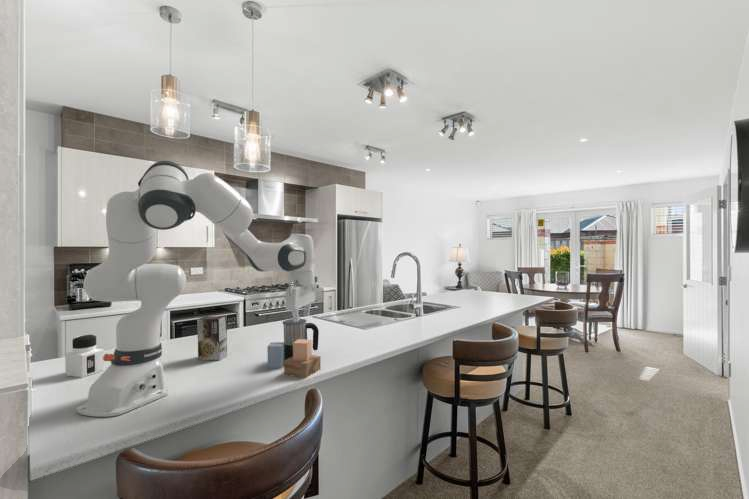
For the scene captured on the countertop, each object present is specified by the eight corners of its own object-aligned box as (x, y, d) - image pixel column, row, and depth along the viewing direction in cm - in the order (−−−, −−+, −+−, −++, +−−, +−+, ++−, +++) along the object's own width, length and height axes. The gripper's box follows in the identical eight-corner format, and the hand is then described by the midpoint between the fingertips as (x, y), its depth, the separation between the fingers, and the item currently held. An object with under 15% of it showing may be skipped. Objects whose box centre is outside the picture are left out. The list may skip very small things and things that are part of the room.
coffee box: (227, 355, 148) (227, 315, 148) (219, 360, 142) (219, 318, 141) (206, 354, 149) (205, 315, 149) (197, 360, 143) (196, 318, 142)
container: (104, 370, 131) (103, 334, 131) (81, 378, 124) (81, 339, 123) (88, 368, 133) (87, 332, 133) (65, 375, 126) (64, 338, 126)
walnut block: (306, 378, 123) (306, 363, 123) (284, 375, 127) (284, 360, 127) (320, 370, 132) (320, 356, 132) (299, 367, 135) (299, 353, 135)
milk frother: (288, 363, 138) (288, 324, 138) (273, 353, 151) (273, 317, 150) (322, 356, 146) (322, 319, 146) (305, 347, 159) (305, 313, 159)
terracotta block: (307, 360, 126) (307, 343, 126) (293, 360, 127) (293, 342, 127) (311, 356, 131) (311, 339, 131) (298, 355, 132) (298, 339, 132)
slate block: (281, 368, 133) (281, 346, 133) (267, 368, 133) (267, 346, 133) (284, 363, 138) (284, 342, 138) (270, 363, 138) (270, 342, 138)
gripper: (298, 282, 119) (298, 325, 119) (319, 276, 139) (319, 313, 139) (280, 282, 120) (280, 324, 120) (303, 276, 140) (303, 312, 140)
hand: (301, 318), depth 130 cm, fingers open, 8 cm apart
